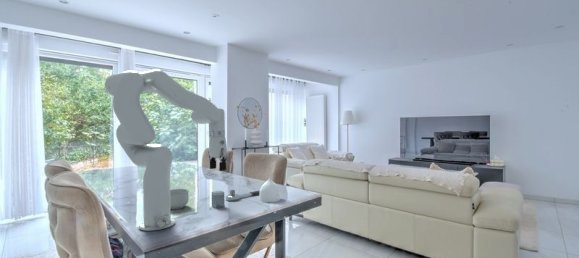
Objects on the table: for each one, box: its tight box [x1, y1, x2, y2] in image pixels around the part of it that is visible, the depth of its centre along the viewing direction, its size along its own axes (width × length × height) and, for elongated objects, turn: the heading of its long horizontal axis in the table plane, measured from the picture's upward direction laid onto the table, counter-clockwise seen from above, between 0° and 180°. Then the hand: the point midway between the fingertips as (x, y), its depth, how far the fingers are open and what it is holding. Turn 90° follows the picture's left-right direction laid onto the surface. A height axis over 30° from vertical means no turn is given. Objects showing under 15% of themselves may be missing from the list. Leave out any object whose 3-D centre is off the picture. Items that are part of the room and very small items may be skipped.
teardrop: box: [258, 176, 281, 203], centre depth 147 cm, size 11×11×12 cm
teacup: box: [170, 188, 189, 210], centre depth 134 cm, size 14×11×8 cm
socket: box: [211, 190, 225, 209], centre depth 134 cm, size 4×4×7 cm
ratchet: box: [225, 189, 260, 202], centre depth 153 cm, size 7×23×5 cm, turn 132°
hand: (217, 169), depth 135 cm, fingers open, 9 cm apart
